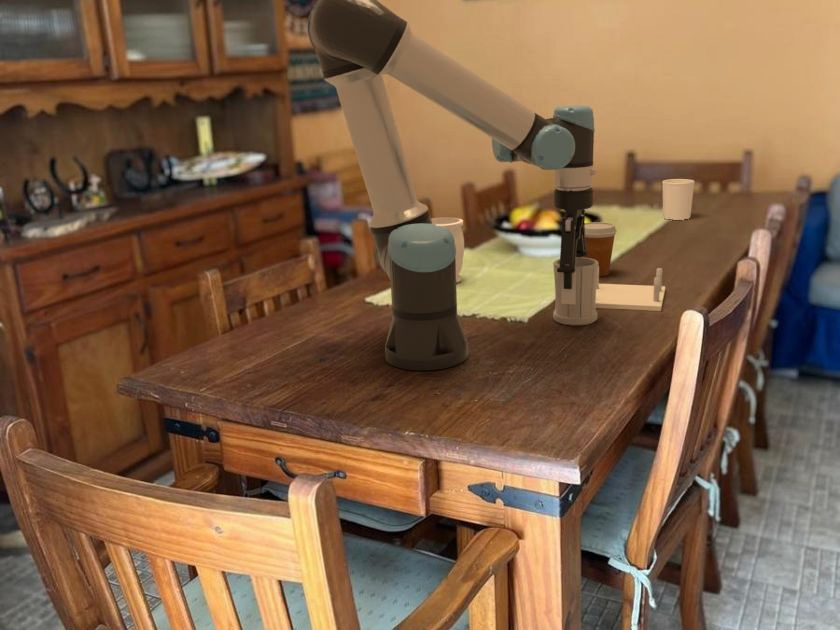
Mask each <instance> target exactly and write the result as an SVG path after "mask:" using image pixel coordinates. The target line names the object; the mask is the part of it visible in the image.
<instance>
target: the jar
mask: <svg viewBox="0 0 840 630" xmlns="http://www.w3.org/2000/svg"><path fill="white" fill-rule="evenodd" d="M431 221H432V224H434V225H436V226H442V227H445V228H447V229H448V230H449V231H450V232H451V233H452V234H453V237H454V242H455V246H456V255H455V260H456V284H457V283H460V282H461V281H462V277H461V275H460V272H461V270H462V269H463V268H462V267H463V260H464V253H465V238H464V232H463V228H462V227H463V226H464V220H463V219H462V218H458V217H434V218H433V217H431Z"/></svg>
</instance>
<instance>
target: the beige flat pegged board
mask: <svg viewBox="0 0 840 630" xmlns="http://www.w3.org/2000/svg"><path fill="white" fill-rule="evenodd" d="M653 278H654V279H653V285H645V284H644V285H640V284H619V283H618V284H617V283H616V284H615V283H600V277H599V266H598V273H597V284H596V301H595V309H608V310H609V309H612V310H613V309H614V310H632V311H649V312H650V311H651V312H652V311H654V312H661V311H662V308H663V302H664V298H665V292H666V286H664V285H663V268H662V267H658V268H656V276H655V277H653Z"/></svg>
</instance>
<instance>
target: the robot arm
mask: <svg viewBox="0 0 840 630" xmlns="http://www.w3.org/2000/svg"><path fill="white" fill-rule="evenodd" d="M307 20H308V22H307V34H308V40H309V42H310V44H311V46H312V47H313V50H314V51H315V53H316V57H317V60H318V62H319V66H320V70H321V72H322V76H323V79H324V82H327V83H329V84H330V85H332V86H334V87H335V89H336V94H337V96H338V99H339V103H340V105H341V109H342V112H343V116H344V119H345V122H346V126H347V128H348V131H349V135H350V139H351V142H352V145H353V148H354V152H355V154H356V158H357V162H358V165H359V169H360V172H361V175H362V178H363V182H364V184H365V189H366V191H367V194H368V197H369V201H370V205H371V208H372V211H373V213H372V214H373V215H372V217H371V219H370V221H369V222H368V226H369V229H370V232H371V236H372V238H373V242H374V248H375V251H374V252H375V257H376V260H377V262H378V264H379V266H380V268H381V269H382V270H383V271H384V272H385V274H387V276H388V278H389V280H390V294H391V308H392V309H391V311H392V312H391V313H392V319H391V323H390V326H389V330H388V334H387V338H386V342H385V345H384V357H385V361H386V362H387V363H388V364H389V365H390V366H393V367H395V368H397V369H398V368H399V369H403V370H409V371H435V370H442V369H448V368H451V367H454V366H457V365H459V364H461V363H463V362H465V361H467V359H468V358H469V343H468V340H467V337H466V334H465V332H464V329H463V327H462V324H461V321H460V319H459V315H458V300H457V299H458V298H457V297H458V296H457V294H458V293H457V283H456V260H455V255H456V246H455V242H454V237H453V234H452V233H451V232H450V231H449V230H448V229H447V228H445V227H442V226H436V225H434V224H432V221H431V219H432V217H431V215H430V211H429V208H428V206H427V205H425V204H424V203H422V202H420V201H419V200H418V198H417V195H416V191H415V188H414V183H413V180H412V177H411V173H410V170H409V167H408V163H407V159H406V156H405V152H404V148H403V145H402V141H401V138H400V133H399V130H398V127H397V124H396V120H395V116H394V113H393V108H392V105H391V103H390V98H389V95H388V91H387V88H386V84H385V82H384V77H383V76H384V75H388V76H390V77H392V78H394V80H397V81H398V82H399V83H402V84H403V85H405V86H406V87H408V88H410V89H411V90H413V91H414V92H416V93H418V94H420V95H421V96H423V97H425V98H426V99H428V100H429V101H431V102H432V103H434V104H436V105H437V106H439V107H441V108H442V109H444V110H445V111H447V112H449V113H450V114H452V115H453V116H455V117H457V118H458V119H460V120H462V121H463V122H465V123H467V124H469V126H471V127H473V128H475V129H477V130H478V131H480V132H481V133H482V134H484V135H487V137H490V138H491V148H492V152H493V156H494V158H495V160H496V161H497V162H499V163H511V164H512V163H514V162H523V163H526V164H529V165H532V166H536V167H538V168H540V169H542V170H545V171H553V186H554V187H556V188H555V189H554V191H553V202H554V203H553V205H554V206H553V207H554V208H556V209H558V210H562V211H565V213H564V217H562V219H561V222H560V224H561V235H560V236H561V238H560V239H561V240H560V255H559V256H560V257H559V259H560V267H559V268H557V272H561V304H574V305H575V304H576V271H575V259H576V257H582V256H588V251H585V250H586V243H585V223H586V222H585V221H586V217H585V212H586V210H588V209H591V208H592V207H593V206H594V189H593V188H592V186H593V184H594V176H596V175H597V171H596V170H595V169H594V148H595V147H594V146H595V145H594V144H595V140H594V139H595V130H596V129H595V117H594V111H593V109H592V108H591V107H590V106H588V105H566V106H557V107H555V108H554V109H553V115H552V117H550V118H544V117H543V116H541V115H539V114H538V113H536V112H534V110H532V109H531V108H528V107H527V106H525V105H524V104H522V103H521V102H520V101H518V100H517V99H515V98H514V97H513V96H512V97H511V95H509V94H507V93H506V92H504V91H503V90H501V89H499V88H498V87H496V86H495V85H493V84H492V83H490V82H489V81H487V80H485V79H484V78H483V77H481V76H480V75H478V74H476V73H474V72H473V71H472V70H470V69H468V68H467V67H465V66H464V65H462V63H461V64H460V63H459V62H458V61H456V60H454V59H453V58H451V57H450V56H448V55H446V54H445V53H444V52H442V51H440V50H439V49H437V48H436V47H434V46H433V45H431V44H430V43H428V42H426V41H425V40H423V39H422V38H421V37H419V36H417V35H416V34H414V33H413V32H412V31H411V26H410V23H409V22H408V21H407V20H405V19H403V18H401V17H400V16H399V15H397V14H396V13H394V12H393V11H392V10H390V9H389V8H388V7H387V6H385V5H384V4H382V3H381V2H380V1H379V0H318V1H317V2H316V3H315V4H314V5H313V7H312V9H311V11H310V13H309V16H308V19H307ZM583 258H584V257H583ZM566 264H569V265H570V266H569V265H566Z"/></svg>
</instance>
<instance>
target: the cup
mask: <svg viewBox="0 0 840 630" xmlns="http://www.w3.org/2000/svg"><path fill="white" fill-rule="evenodd" d="M552 263H553V265H552V266H553V276H554V277H553V278H554V290H555V291H554V294H555V295H554V296H555V297H554V298H555V309H554V310H553V315H552V316H553V317H552V318H553V320H554V321H555V322H557V323H558V324H561V325H564V326H565V325H567V326H587V325H590V324H593V323H594V322H596V321H597V320H598V311H597V310H596V308H595V301H596V284H597V273H598V261H597V260H594V259H591V258H583V257H576V259H575V271H576V304H575V305H574V304H561V272H557V268H559V267H560V258H558V259H555V260H554V261H553V262H552ZM566 265H569V264H566ZM569 266H570V265H569Z"/></svg>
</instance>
